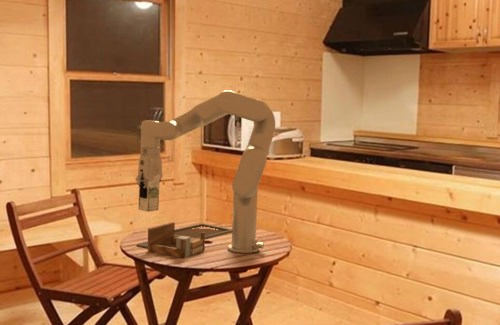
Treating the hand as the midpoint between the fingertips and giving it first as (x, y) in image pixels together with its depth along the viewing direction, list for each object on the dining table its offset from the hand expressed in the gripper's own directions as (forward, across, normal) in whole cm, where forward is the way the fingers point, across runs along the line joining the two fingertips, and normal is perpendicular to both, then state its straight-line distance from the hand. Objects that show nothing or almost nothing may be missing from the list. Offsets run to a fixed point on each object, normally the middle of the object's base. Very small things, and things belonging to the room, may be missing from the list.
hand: (148, 196), depth 231 cm
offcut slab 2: (+20, +2, -20) cm, 29 cm away
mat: (+20, 0, -1) cm, 20 cm away
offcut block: (+20, -4, -20) cm, 29 cm away
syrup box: (+6, 0, 0) cm, 6 cm away
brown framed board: (+21, +31, -4) cm, 38 cm away
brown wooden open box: (+20, 0, -14) cm, 24 cm away
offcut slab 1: (+18, +2, -20) cm, 27 cm away
